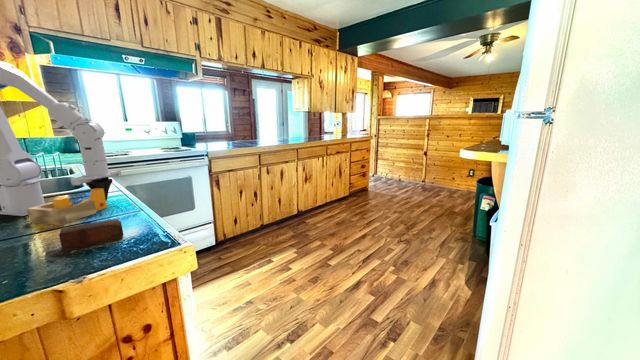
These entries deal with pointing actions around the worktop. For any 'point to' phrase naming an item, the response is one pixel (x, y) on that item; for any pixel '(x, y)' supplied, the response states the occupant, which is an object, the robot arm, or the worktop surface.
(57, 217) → the wooden open tray
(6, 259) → the worktop surface
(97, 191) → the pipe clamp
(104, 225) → the brick
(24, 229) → the worktop surface
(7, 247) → the worktop surface
